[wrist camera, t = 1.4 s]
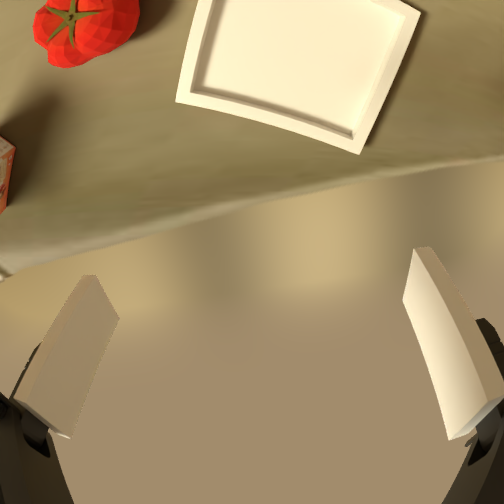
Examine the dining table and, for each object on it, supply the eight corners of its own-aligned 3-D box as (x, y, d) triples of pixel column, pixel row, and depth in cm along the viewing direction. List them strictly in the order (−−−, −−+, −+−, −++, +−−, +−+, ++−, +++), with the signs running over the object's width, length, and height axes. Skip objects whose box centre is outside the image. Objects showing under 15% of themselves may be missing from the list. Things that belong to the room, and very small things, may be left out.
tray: (220, -51, 16) (216, -56, 14) (412, 12, 18) (421, 12, 16) (181, 96, 27) (175, 101, 25) (354, 147, 29) (358, 154, 27)
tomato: (157, 37, 22) (127, 42, 18) (72, 71, 24) (36, 87, 19) (139, -41, 16) (106, -51, 11) (55, 2, 18) (16, 7, 13)
